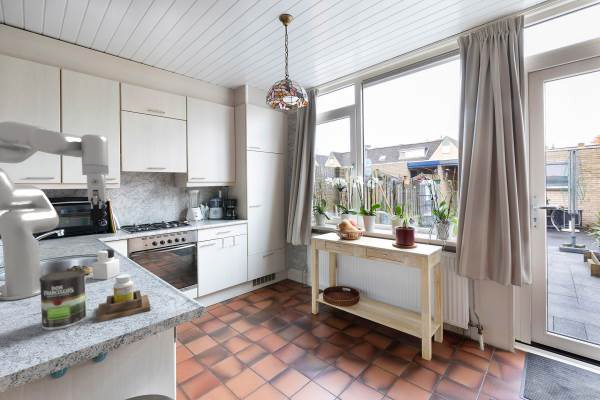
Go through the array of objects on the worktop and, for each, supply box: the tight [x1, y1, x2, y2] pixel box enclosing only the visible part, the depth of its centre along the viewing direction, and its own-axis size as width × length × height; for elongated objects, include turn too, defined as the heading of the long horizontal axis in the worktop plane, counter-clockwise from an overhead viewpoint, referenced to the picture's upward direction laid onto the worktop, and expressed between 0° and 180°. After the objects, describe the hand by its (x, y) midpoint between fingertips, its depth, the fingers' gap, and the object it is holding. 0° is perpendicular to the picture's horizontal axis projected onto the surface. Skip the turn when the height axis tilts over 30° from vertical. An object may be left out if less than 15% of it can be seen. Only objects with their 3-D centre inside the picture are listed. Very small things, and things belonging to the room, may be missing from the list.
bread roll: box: [65, 265, 93, 276], centre depth 127 cm, size 11×11×5 cm
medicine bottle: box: [91, 248, 121, 281], centre depth 123 cm, size 7×7×12 cm
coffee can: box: [39, 269, 88, 331], centre depth 82 cm, size 10×10×14 cm
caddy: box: [96, 290, 152, 323], centre depth 91 cm, size 14×12×4 cm
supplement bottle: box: [113, 273, 134, 303], centre depth 90 cm, size 5×5×10 cm
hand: (97, 219), depth 99 cm, fingers open, 9 cm apart
